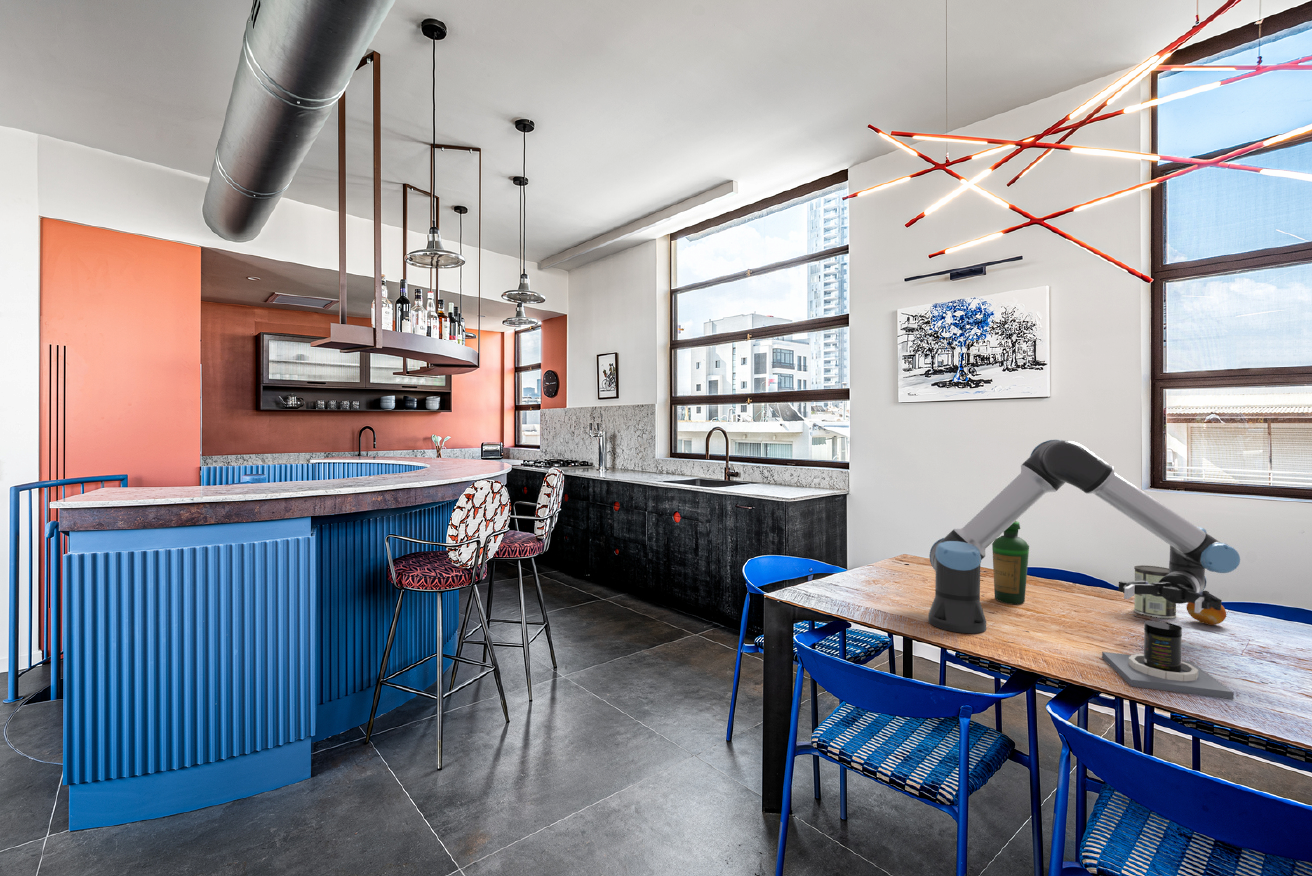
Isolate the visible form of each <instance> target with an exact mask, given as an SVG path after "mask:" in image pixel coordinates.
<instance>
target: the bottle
mask: <svg viewBox="0 0 1312 876" xmlns="http://www.w3.org/2000/svg"><path fill="white" fill-rule="evenodd" d="M1020 529H1021V525H1020V522H1019V521H1018V520H1016V521H1015V522H1014V523H1013V524H1012V525H1011V526H1009V527H1008V528H1007V529H1006V530H1005V531H1004V532H1003V535H1000V536H999V537H998V538H996V539H995V540H994V541H993V542H992V543H991V545H992V548H991V549H992V566H993V567H992V568H993V586H994V587H993V588H994V599H995V600H997V601H998V602H1001V603H1004V604H1009V605H1022V604H1024V603H1025V601H1026V600H1025V599H1026V591H1027V590H1026V589H1027V578H1028V566H1029V556H1030V555H1029V553H1030V545H1029V543H1027V541H1026V540H1025V539H1023V538H1022V537H1020V536H1019V530H1020Z"/></svg>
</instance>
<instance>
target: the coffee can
mask: <svg viewBox="0 0 1312 876" xmlns="http://www.w3.org/2000/svg"><path fill="white" fill-rule="evenodd" d="M1168 574H1169V567H1164V566H1163V567H1162V566H1157V565H1156V566H1155V565H1135V566H1134V581H1141V580H1146V581H1147V582H1148V584H1151V583H1153V582H1154V583H1158V582H1159V581H1160V580H1161V579H1162V578H1163V577H1165V576H1166V575H1168ZM1157 594H1159V593H1157ZM1133 599H1134V609H1133V612H1135V613H1137V614H1139V615H1142V614H1144V615H1143V616H1145V615H1148V616H1147V617H1150V616H1152V617H1151V618H1156V617H1157V618H1156V619H1158V618H1159V619H1168V618H1170V619H1175V618H1177V603H1172V602H1170V601H1168V600H1166V599H1165V598H1163V597H1156V596H1153V595H1151V594H1134V598H1133Z"/></svg>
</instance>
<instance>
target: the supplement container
mask: <svg viewBox="0 0 1312 876" xmlns="http://www.w3.org/2000/svg"><path fill="white" fill-rule="evenodd" d="M1143 631H1144V632H1143V633H1144V634H1143V636H1144V637H1143V638H1144V639H1143V654H1144V665H1146V666H1148V667H1151V668H1155V669H1159V670H1163V671H1169V672H1178V673H1180V672H1181V660H1182V645H1183V644H1182V641H1183V640H1182V636H1183V628H1182V626H1179V625H1177V624H1174V623H1170V622H1166V621H1161V620H1160V621H1159V620H1146V621H1144V623H1143Z"/></svg>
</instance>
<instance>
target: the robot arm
mask: <svg viewBox="0 0 1312 876" xmlns="http://www.w3.org/2000/svg"><path fill="white" fill-rule="evenodd" d="M1065 484H1069V485H1071V486H1073V487H1075V488H1078V489H1079V490H1080V491H1083V492H1084V493H1085V494H1093V495H1095V496H1096V497H1098V498H1099V499H1101V500H1102V501H1103V502H1105V503H1107V504H1108V505H1109V506H1112V507H1113V508H1114V509H1115V510H1117V511H1118V512H1120V513H1121V514H1123V515H1125V516H1126V517H1127V518H1129V519H1131V520H1132V521H1134V522H1135V523H1136V524H1138V525H1140V526H1141V527H1143V528H1144V529H1146V530H1147V531H1148V532H1150V533H1151V534H1153V535H1154V536H1156V537H1158V538H1159V539H1161V541H1163V542H1165V543H1166V544H1168V545H1169V561H1168V562H1169V563H1168V568H1169V574H1168V575H1166V576H1165V577H1163V578H1162V579H1161V580H1160V581H1159V582H1158V583H1154V582H1153V583H1151V584H1148V582H1147V581H1146V580H1141V581H1135V580H1129V581H1128V580H1127V581H1125V580H1124V581H1122V580H1121V581H1118V589H1117V591H1118V592H1119V593H1120V592H1121V593H1123V594H1124V595H1123V596H1124V597H1123V598H1124V600H1129V599H1131V598H1132V597H1135V594H1151V595H1153V596H1156V597H1163V598H1165V599H1166V600H1168V601H1170V602H1172V603H1176V605H1177V604H1178V605H1179V604H1181V605H1183V604H1186V603H1188V602H1191V603H1194V604H1195V613H1199V612H1201V611H1202V610H1203V609H1211V607H1212V608H1214V609H1216V610H1221V605H1222V602H1223V600H1222V599H1221V598H1218V597H1217V596H1215V595H1213V594H1212V593H1210V591H1208V590H1205V589H1206V587H1207V577H1206V576H1205V575H1206V574H1205V571H1206V570H1207V571H1209V572H1213V573H1217V574H1228V573H1231V572H1234V571H1235V570H1236V569H1237V568H1238V567H1239V565H1240V564H1241V557H1240V554H1239V551H1237V550H1236V549H1235V548H1234V547H1232V546H1231V545H1228V544H1227V543H1223V542H1220V541H1219V540H1217V539H1216V538H1215V537H1213V536H1212V535H1210V534H1208V533H1207V530H1206V529H1205V528H1203V527H1200V526H1197V525H1195V524H1194V523H1192V522H1190V521H1189V520H1187V519H1186V518H1185V517H1183V516H1181V515H1180V514H1179V513H1177V512H1175V511H1174V510H1172V509H1171V508H1169V507H1168V506H1166V505H1165V504H1163V503H1161V502H1160V501H1159V500H1157V499H1155V498H1154V497H1153V496H1151V495H1150V494H1148V493H1146V492H1145V491H1143V490H1142V489H1141V488H1139V487H1138V486H1136V485H1134V484H1133V483H1131V482H1129V481H1128V480H1127V479H1126V478H1124V477H1122V476H1121V475H1119V474H1118V473H1116V472H1115V468H1114V466H1113V465H1111V464H1110V463H1108V462H1107V461H1106V460H1104V459H1102V457H1100V456H1098V455H1097V454H1096V453H1094V451H1092V450H1090V449H1089V448H1088V447H1087V446H1085V445H1083V444H1082V443H1079V442H1076V441H1074V440H1073V441H1072V440H1062V439H1050V440H1049V439H1048V440H1045V441H1043V442H1041V443H1039V444H1038V445H1036V446H1035V447H1034V448H1033V449H1032V451H1031V453H1030V456H1029V457H1028V458H1027V459H1026V460H1025V461H1024V462H1022V463H1021V465H1020V473H1019V474H1018V475H1017V476H1016V477H1015V478H1014V479H1013V480H1012V481H1011V482H1010V483H1009V484H1008V485H1006V486H1005V488H1003V489H1002V490H1001V491H1000V492H999V493H998V494H997V495H996V496H995V497H994V498H992V500H991V501H990V502H988V503H987V504H986V505H985V506H984V507H983V508H982V509H981V510H980V511H979V512H978V513H977V514H975V515H974V516H973V517H972V519H971V520H970V521H968V522H967V523H966V524H965V525H964V526H962V528H953V529H952V530H951V531H949V533H948V534H946V536H945V537H942V538H939V539H938V540H936V541H935V542H934V543H933V545H932V546H931V548H930V551H929V562H930V564H931V566H932V569H933V570H934V572H935V580H934V581H935V583H934V584H935V587H934V588H935V591H934V593H935V595H934V598H933V601H932V604H931V606H930V609H929V611H928V616H927V617H928V620H927V621H928V623H929V624H930V625H932V626H933V627H936V628H938V629H941V630H944V631H949V632H954V633H959V634H961V633H964V634H980V633H984V632H986V630H987V619H986V616H985V613H984V610H983V608H982V604H981V563H982V560H983V559H984V558H985V557H986V549H987V548H988V547H989V546H990V545H992V543H993V542H994V541H995V539H997V538H999V537H1000V536H1002V534H1004V531H1005V530H1006V529H1007V528H1008V527H1009V526H1011V525H1012V524H1013V523H1014V522H1015V521H1018V519H1020V517H1021V516H1022V515H1023V514H1025V513H1026V512H1027V511H1028V510H1029V509H1030V508H1031V507H1033V506H1034V505H1035V503H1037V502H1038V501H1039V500H1040V499H1041V498H1042V497H1043V496H1044V495H1045V494H1047V493H1056V492H1057V491H1058V490H1060V488H1061V487H1062V486H1063V485H1065ZM1157 593H1159V594H1157Z"/></svg>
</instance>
